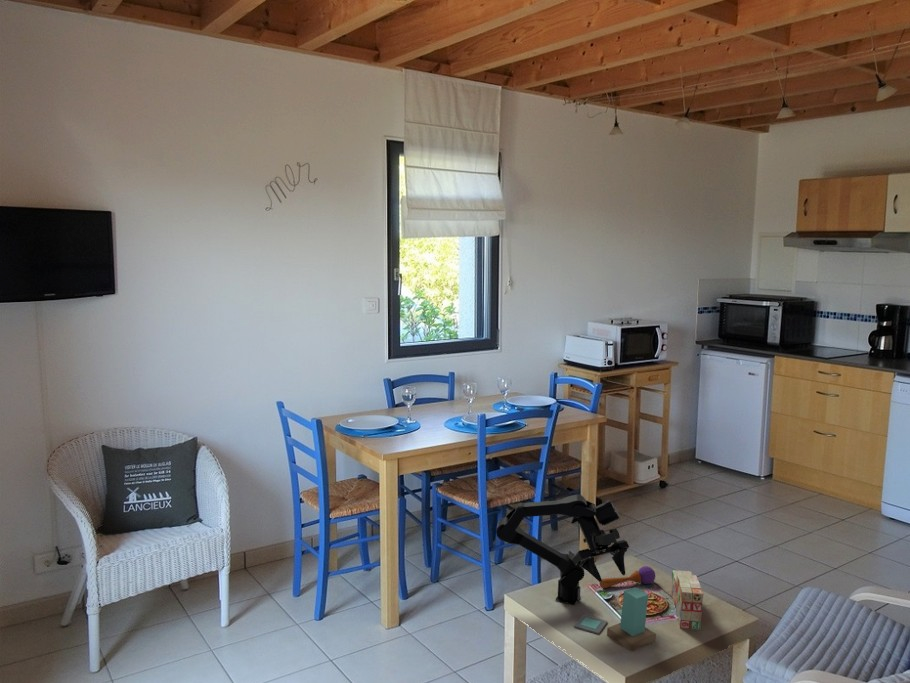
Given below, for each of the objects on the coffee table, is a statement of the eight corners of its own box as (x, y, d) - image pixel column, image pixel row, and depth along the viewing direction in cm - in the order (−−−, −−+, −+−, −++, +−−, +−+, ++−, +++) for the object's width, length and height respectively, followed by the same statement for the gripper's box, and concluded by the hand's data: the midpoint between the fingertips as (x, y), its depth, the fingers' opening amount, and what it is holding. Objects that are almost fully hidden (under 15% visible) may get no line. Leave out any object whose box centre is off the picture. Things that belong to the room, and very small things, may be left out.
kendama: (596, 572, 251) (648, 563, 256) (598, 590, 251) (650, 579, 255) (604, 577, 245) (657, 567, 250) (606, 595, 245) (659, 584, 250)
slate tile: (573, 627, 222) (573, 625, 222) (582, 615, 229) (582, 614, 229) (598, 634, 218) (598, 632, 218) (607, 622, 225) (607, 620, 225)
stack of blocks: (670, 595, 243) (672, 561, 242) (690, 597, 242) (692, 562, 241) (679, 629, 222) (682, 591, 221) (701, 631, 221) (703, 593, 220)
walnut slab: (606, 637, 218) (607, 627, 218) (630, 628, 223) (630, 618, 223) (631, 652, 210) (632, 643, 209) (655, 643, 215) (655, 633, 215)
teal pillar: (620, 627, 217) (623, 590, 215) (631, 623, 220) (635, 587, 218) (632, 636, 213) (636, 598, 211) (644, 631, 216) (648, 594, 214)
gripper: (578, 526, 224) (600, 574, 216) (626, 515, 232) (648, 561, 224) (563, 541, 232) (583, 588, 224) (610, 530, 240) (631, 575, 232)
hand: (612, 578), depth 226 cm, fingers open, 9 cm apart
